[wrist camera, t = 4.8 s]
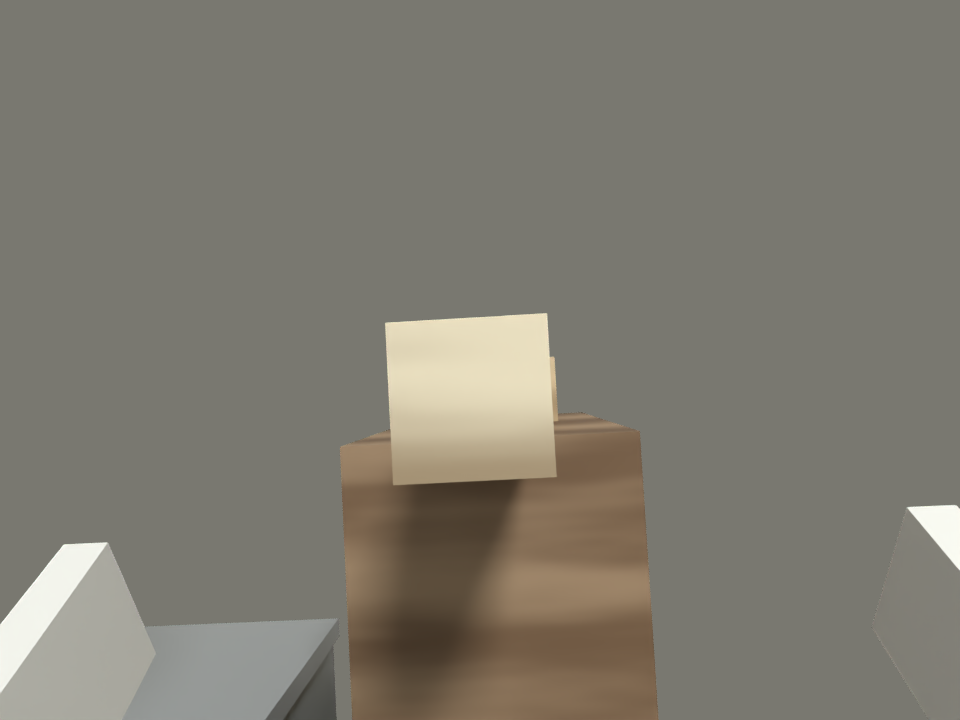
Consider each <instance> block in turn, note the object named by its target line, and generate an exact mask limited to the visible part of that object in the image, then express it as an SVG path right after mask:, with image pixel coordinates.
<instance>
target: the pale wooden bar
mask: <svg viewBox="0 0 960 720" xmlns="http://www.w3.org/2000/svg"><path fill="white" fill-rule="evenodd" d="M385 326H386V347H387V367H388V388H389V409H390V430H391V450H392V471H393V485H408V484H428V483H448V482H468V481H488V480H508V479H528V478H548V477H557V474H556V457H555V440H554V424H553V421H558V411H557V394H556V378H555V361H554V357H550V356H549V340H548V323H547V313H545V314H528V315H511V316H494V317H477V318H461V319H443V320H426V321H410V322H392V323H385Z"/></svg>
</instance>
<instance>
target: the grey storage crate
mask: <svg viewBox="0 0 960 720" xmlns="http://www.w3.org/2000/svg"><path fill="white" fill-rule="evenodd" d="M145 629H146V632H147V634H148V636H149V638H150V641H151V643H152V645H153V648H154V650H155V652H156V655H155V657H154V659H153V660H152V662H151V664H150V666H149V668H148V670H147V672H146V674H145V676H144V678H143V680H142V682H141V684H140V686H139V688H138V690H137V691H136V693H135V695H134V697H133V699H132V701H131V703H130V705H129V707H128V709H127V711H126V713H125V715H124V717H123V719H122V720H336V698H335V677H334V676H335V675H334V653H333V645H334V643H335V642H336V640H337V639H338V638H339V619H315V620H292V621H271V622H270V621H268V622H248V623H247V622H245V623H221V624H200V625H199V624H198V625H175V626H151V627H145Z"/></svg>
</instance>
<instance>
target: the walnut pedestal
mask: <svg viewBox="0 0 960 720" xmlns="http://www.w3.org/2000/svg"><path fill="white" fill-rule="evenodd" d="M553 424H554V440H555V457H556V474H557V477H548V478H528V479H508V480H488V481H468V482H448V483H428V484H408V485H393V471H392V450H391V430H390V429H389V430H386V431H384V432H381V433H378V434H375V435H372V436H369V437H367V438H364V439H361V440H358V441H355V442H352V443H350V444H347V445H344V446H341V447H340V457H341V477H342V478H341V479H342V502H343V524H344V546H345V566H346V567H345V568H346V590H347V610H348V611H347V612H348V634H349V656H350V677H351V698H352V699H351V700H352V720H658V706H657V690H656V675H655V659H654V644H653V630H652V614H651V598H650V582H649V568H648V552H647V536H646V522H645V506H644V490H643V476H642V462H641V461H642V460H641V444H640V431H637V430H634V429H631V428H628V427H625V426H622V425H618V424H616V423H613V422H609V421H606V420H603V419H600V418H597V417H594V416H591V415H588V414H585V413H564V414H558V421H553Z"/></svg>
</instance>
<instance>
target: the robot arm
mask: <svg viewBox="0 0 960 720" xmlns="http://www.w3.org/2000/svg"><path fill="white" fill-rule="evenodd" d="M872 629H873V630H874V632H875V634H876V635H877V637H878V638H879V640H880V642H881V643H882V645H883V647H884V648H885V650H886V651H887V653H888V655H889V656H890V658H891V659H892V661H893V663H894V665H895V666H896V668H897V669H898V671H899V672H900V674H901V676H902V677H903V679H904V681H905V682H906V684H907V686H908V687H909V689H910V690H911V692H912V693H913V695H914V697H915V699H916V700H917V702H918V703H919V705H920V706H921V708H922V710H923V711H924V713H925V715H926V716H927V718H928V720H960V509H959V508H958V507H957V506H956V505H948V506H926V507H907V508H906V512H905V515H904V519H903V522H902V525H901V529H900V532H899V535H898V539H897V542H896V546H895V549H894V552H893V556H892V559H891V563H890V566H889V570H888V573H887V577H886V580H885V583H884V586H883V590H882V593H881V597H880V600H879V603H878V607H877V610H876V614H875V617H874V620H873V624H872ZM155 655H156V652H155V650H154V648H153V645H152V643H151V641H150V638H149V636H148V634H147V632H146V629H145V627H144V625H143V622H142V620H141V618H140V615H139V613H138V611H137V608H136V606H135V604H134V602H133V599H132V597H131V595H130V592H129V590H128V588H127V586H126V583H125V581H124V579H123V576H122V574H121V572H120V569H119V567H118V565H117V562H116V560H115V558H114V556H113V553H112V551H111V549H110V546H109V544H108V543H87V544H67V545H65V544H64V545H63V546H62V547H61V549H60V550H59V551H58V552H57V554H56V555H55V556H54V557H53V559H52V560H51V561H50V562H49V564H48V565H47V566H46V568H45V569H44V570H43V571H42V573H41V574H40V575H39V577H38V578H37V579H36V580H35V581H34V583H33V584H32V585H31V586H30V588H29V589H28V590H27V592H26V593H25V594H24V595H23V597H22V598H21V599H20V600H19V602H18V603H17V604H16V605H15V607H14V608H13V609H12V610H11V612H10V613H9V614H8V616H7V617H6V618H5V619H4V621H3V622H2V623H1V624H0V720H122V719H123V717H124V715H125V713H126V711H127V709H128V707H129V705H130V703H131V701H132V699H133V697H134V695H135V693H136V691H137V690H138V688H139V686H140V684H141V682H142V680H143V678H144V676H145V674H146V672H147V670H148V668H149V666H150V664H151V662H152V660H153V659H154V657H155Z"/></svg>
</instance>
